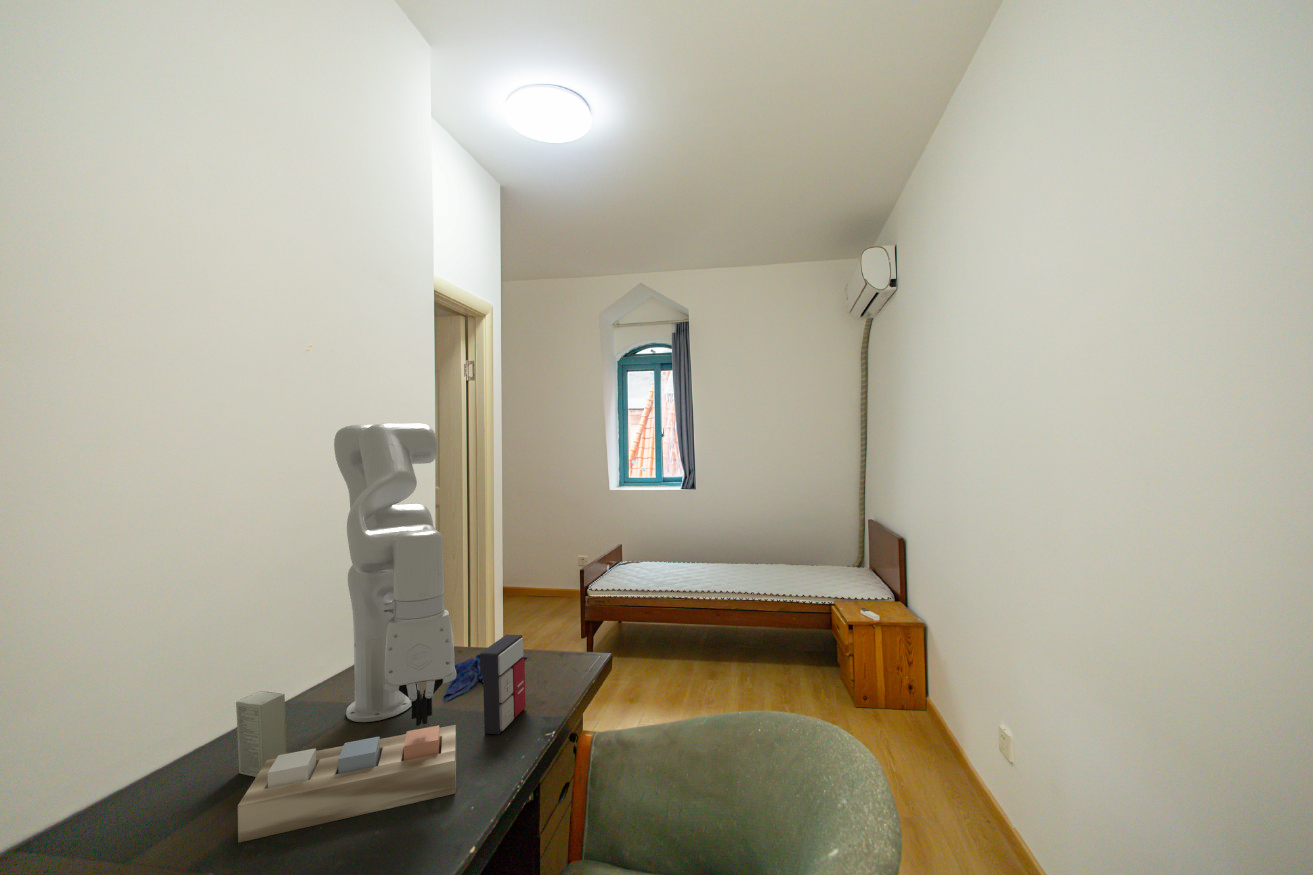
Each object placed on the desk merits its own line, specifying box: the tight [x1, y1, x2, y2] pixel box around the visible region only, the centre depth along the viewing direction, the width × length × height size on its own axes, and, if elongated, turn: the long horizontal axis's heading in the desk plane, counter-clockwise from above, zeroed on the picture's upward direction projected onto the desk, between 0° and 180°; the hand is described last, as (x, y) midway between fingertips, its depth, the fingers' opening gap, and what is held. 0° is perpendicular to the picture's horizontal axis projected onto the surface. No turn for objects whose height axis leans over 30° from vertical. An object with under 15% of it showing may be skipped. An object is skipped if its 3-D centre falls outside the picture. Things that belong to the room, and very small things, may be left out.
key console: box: [237, 724, 457, 844], centre depth 85 cm, size 12×28×5 cm, turn 110°
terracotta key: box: [404, 725, 441, 761], centre depth 88 cm, size 5×5×3 cm
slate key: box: [338, 736, 381, 774], centre depth 85 cm, size 5×5×3 cm
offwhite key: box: [268, 747, 317, 788], centre depth 82 cm, size 5×5×3 cm
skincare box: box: [235, 690, 288, 778], centre depth 93 cm, size 6×4×12 cm
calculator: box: [479, 634, 526, 735], centre depth 107 cm, size 11×4×15 cm, turn 168°
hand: (422, 721), depth 88 cm, fingers closed
